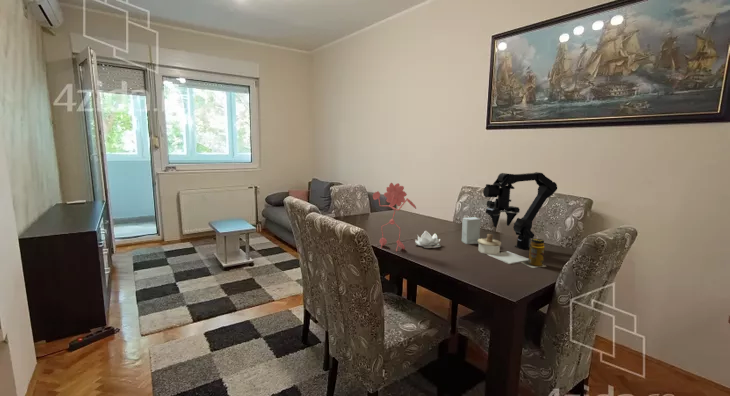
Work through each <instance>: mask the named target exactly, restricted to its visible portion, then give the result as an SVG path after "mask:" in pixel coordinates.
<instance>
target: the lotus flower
mask: <svg viewBox="0 0 730 396" xmlns="http://www.w3.org/2000/svg"><path fill="white" fill-rule="evenodd" d="M440 241H441V238H439V239H438V235H437V234H436V233H434V234H432V235H431V233H429V232H428V231H427V230H424V232H423V233H422V234H421V235H420V236H419V235H417V239H416V238H415V241H414V242H415V245H416V246H420V247H423V248H424V249H431V248H440V247H441V245H440Z"/></svg>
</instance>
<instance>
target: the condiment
mask: <svg viewBox="0 0 730 396" xmlns="http://www.w3.org/2000/svg"><path fill="white" fill-rule="evenodd" d="M528 250H529V253H528V259H529V261H525V262H520V263H521V264H523V265H525V266H527V267H529V268H531V269H535V268H545V267H547V265H546V264H543V263H544V259H545V258H544V256H545V240H544V239H541V238H531V242H530V249H528Z"/></svg>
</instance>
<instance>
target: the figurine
mask: <svg viewBox="0 0 730 396" xmlns="http://www.w3.org/2000/svg"><path fill="white" fill-rule="evenodd" d="M404 188H405V186H403V185H400V183H395V184H394V183H393V182H390V183H389V186H387V187H386V192H384V193H383V195H384V197H385V198H386V202H387V203H388V204H389V205H387V204H386V205H381V201H380V200H381V199H380V197H381V192H379V190H377V191H375V192H374V193H373V194H372V198H373V200H374V201H376V200H378V204H379V205H378V206H379V207H389V208H391V209H392V210H393V214H392V218H391V219H389V222H387V223H386V224H383V225H381V227H380V228H381V234H382V237H380V239H379V244H380V249H382V248H383V246H385V245H387V238H385V237H384V232H383V227H384V226H386V225H389V224H390V225H396V226H397V228H398V229H399V231H401V227H400V226H399V225H397V223H396V221H395V219H394V218H395V217H394V216H395V214H396V211H400V210H401V208H402V207H403V206H404V205H405V204H406V202H408V203H409V205H410V206H411V207H413V208H414V209H417V207H416V205H415V204H414V203H413V202H412V200H410V199H409V198H405V197H406V196H407V195H408V194H407V192H405V191H404V190H405V189H404ZM395 205H396V206H397V207H399V208H396V207H394V206H395ZM398 233H399V235H398V236H399V237H398V240H396V244H397V246H396V250H395V252H398V250H399V248H400V249H402V250H405V248H406V247H405V245H404V243H403V242H402V241H401V240H400V238H401V232H398Z"/></svg>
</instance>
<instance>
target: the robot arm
mask: <svg viewBox="0 0 730 396" xmlns="http://www.w3.org/2000/svg"><path fill="white" fill-rule="evenodd" d="M531 181H535V184H536V185H538V188H537V194H536V197H534V199H533V201H532V203H531V204H530V205H529V207H528V209H527V211H526V212H525V214H524V216H522V217H521V218H519V217H517V218H516V220H515V222H514V223H513V231H514V232H515V235H517V239H516V240H517V241H516V245H514V248H517V249H520V250H530V244H531V240H532V239H535V238H534V237H535V234H534V233H533V231H532V227H533V221H534V219H535V218H536V217H537V215H538V213H539V211H540V210H541V208H542V207H543V205H544V203H545V202H546V200H547V199H548V198H551V196H553V195H554V194H555V193H556V191H557V190H558V185H557V182H555V181H553V180H552V179H550V178H549V177H547V176H546V175H545V174H544V173H543V172H538V171H536V172H528V173H507V172H505V173H504V172H501V173H499V174H498V176H497V178H496V180H495V181H494V182H493V183H492V184H491V183H490V184H489V183H487V184H485V186H484V187H483V192H482V194H483V196H484V197H485V198H495V201H492V200H487V201H486V207H487V208H486V209H485V213H486V214H487V215H488V216H489V217H491V220H492V224H493V227H494V228H497V226H498V223H499V219H500V215H499V214H500V213H505V214H506V226H507V227H510V225H511V223H512V222H513V221H514V219H515V217H516V216H517V215H518V214H519V213H520V207H518V206H513V205H510V202H512V199H510V197H511V190H514V189H515V186H513V184H516V183H520V182H531Z"/></svg>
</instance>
